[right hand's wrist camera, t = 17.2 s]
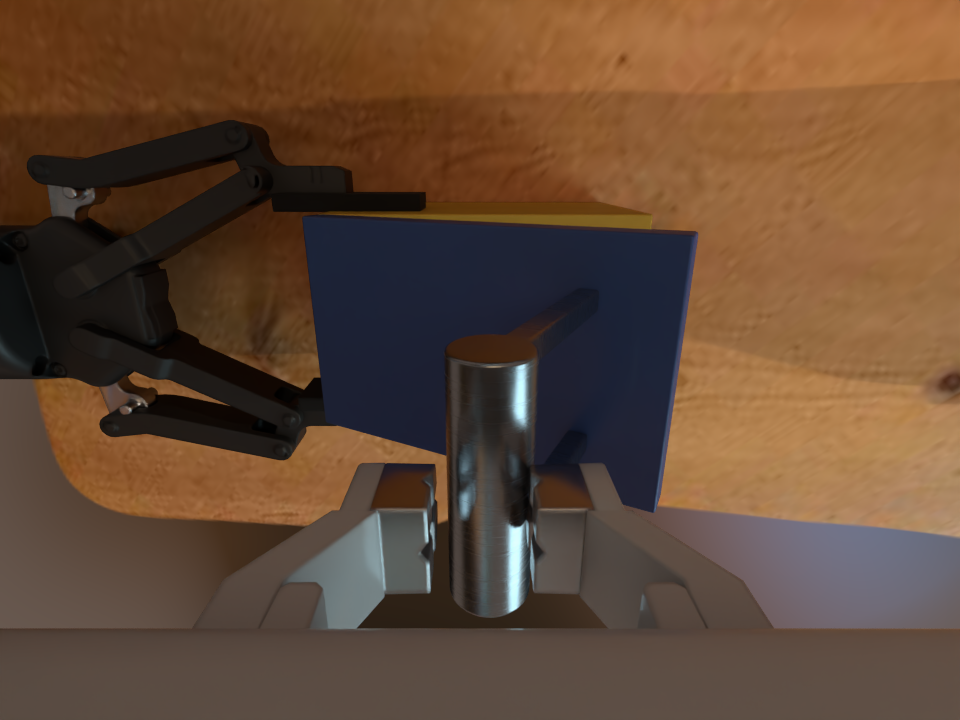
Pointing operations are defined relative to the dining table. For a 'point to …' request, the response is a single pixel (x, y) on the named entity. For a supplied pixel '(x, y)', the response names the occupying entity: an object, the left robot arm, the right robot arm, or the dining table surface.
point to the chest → (523, 213)
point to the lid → (502, 362)
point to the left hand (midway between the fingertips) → (426, 303)
